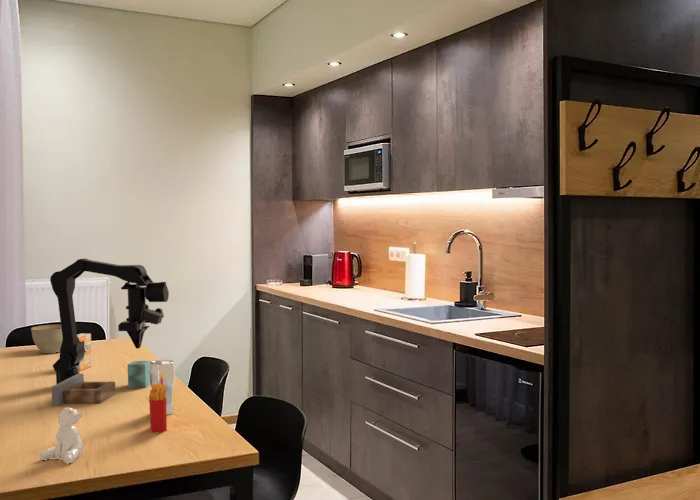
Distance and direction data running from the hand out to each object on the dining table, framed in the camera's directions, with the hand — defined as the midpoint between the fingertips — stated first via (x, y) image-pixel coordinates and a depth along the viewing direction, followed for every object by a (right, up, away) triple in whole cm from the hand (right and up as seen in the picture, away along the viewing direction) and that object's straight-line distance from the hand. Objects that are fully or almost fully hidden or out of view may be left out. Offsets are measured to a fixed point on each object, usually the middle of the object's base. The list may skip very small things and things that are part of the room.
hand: (138, 348), depth 239 cm
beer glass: (+17, -15, -33) cm, 40 cm away
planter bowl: (-57, -11, +66) cm, 88 cm away
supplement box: (-31, -12, +30) cm, 45 cm away
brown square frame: (-11, -14, -15) cm, 23 cm away
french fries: (+20, -15, -49) cm, 55 cm away
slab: (-18, -14, -15) cm, 27 cm away
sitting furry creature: (+4, -17, -70) cm, 72 cm away
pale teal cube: (0, -13, +1) cm, 13 cm away
